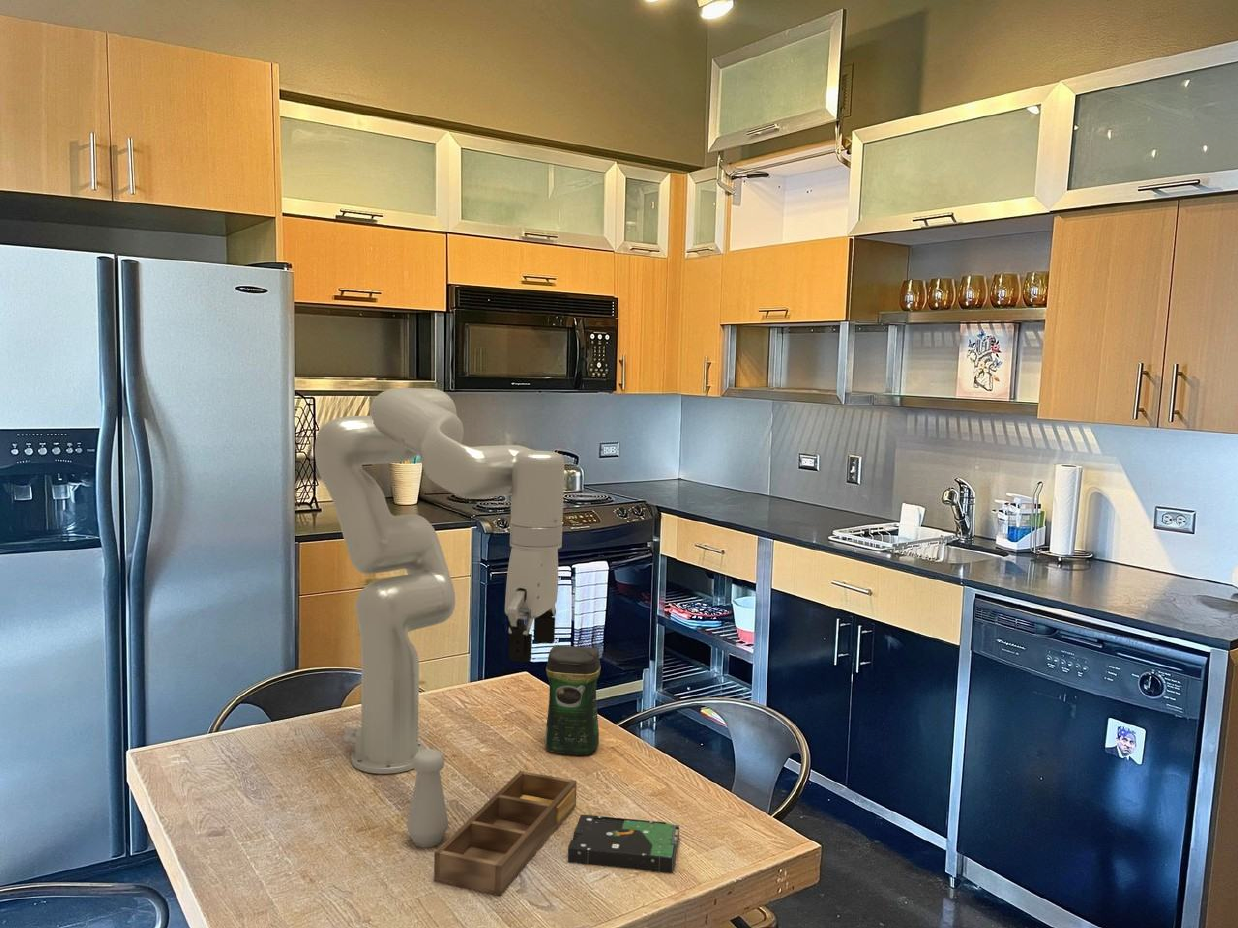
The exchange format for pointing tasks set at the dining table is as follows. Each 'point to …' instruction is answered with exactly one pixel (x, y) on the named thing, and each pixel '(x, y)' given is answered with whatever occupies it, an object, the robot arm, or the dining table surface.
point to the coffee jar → (572, 700)
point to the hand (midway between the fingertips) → (532, 651)
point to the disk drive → (624, 843)
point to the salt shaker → (427, 800)
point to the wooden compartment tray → (505, 833)
